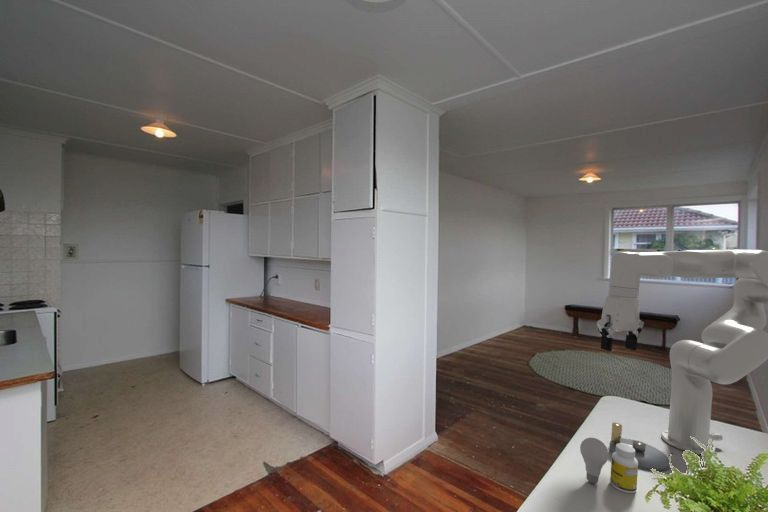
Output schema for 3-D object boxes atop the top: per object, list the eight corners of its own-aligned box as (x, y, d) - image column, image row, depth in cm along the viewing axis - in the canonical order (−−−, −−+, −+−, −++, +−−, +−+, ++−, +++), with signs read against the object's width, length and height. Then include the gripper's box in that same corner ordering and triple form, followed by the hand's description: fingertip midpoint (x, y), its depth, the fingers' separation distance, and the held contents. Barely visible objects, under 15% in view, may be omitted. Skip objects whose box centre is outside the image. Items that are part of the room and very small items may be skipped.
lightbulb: (595, 493, 85) (598, 448, 85) (572, 478, 91) (575, 435, 91) (612, 488, 88) (615, 443, 88) (589, 473, 94) (592, 431, 93)
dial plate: (641, 442, 110) (641, 437, 110) (683, 470, 97) (683, 465, 96) (598, 442, 109) (598, 437, 109) (634, 471, 95) (635, 465, 95)
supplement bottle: (605, 478, 91) (607, 440, 91) (627, 480, 91) (629, 442, 91) (618, 493, 86) (621, 453, 86) (641, 495, 86) (644, 454, 86)
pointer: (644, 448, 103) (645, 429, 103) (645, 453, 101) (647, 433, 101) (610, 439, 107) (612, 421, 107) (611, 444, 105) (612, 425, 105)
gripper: (632, 292, 114) (628, 345, 115) (590, 290, 109) (585, 346, 110) (657, 295, 107) (652, 352, 108) (612, 294, 102) (607, 354, 103)
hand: (618, 349), depth 109 cm, fingers open, 9 cm apart
